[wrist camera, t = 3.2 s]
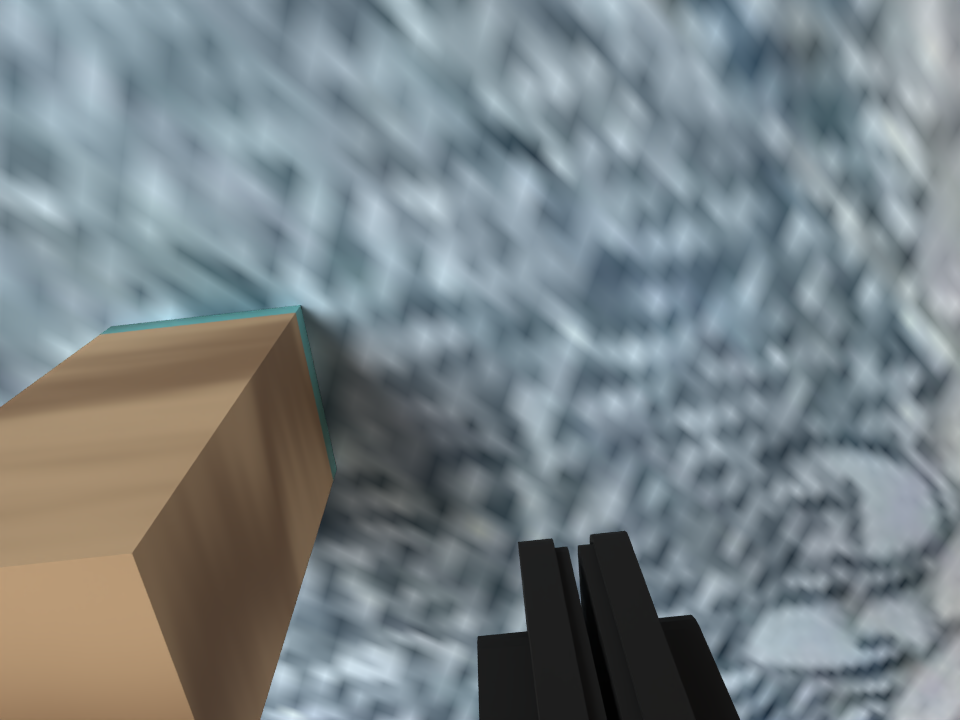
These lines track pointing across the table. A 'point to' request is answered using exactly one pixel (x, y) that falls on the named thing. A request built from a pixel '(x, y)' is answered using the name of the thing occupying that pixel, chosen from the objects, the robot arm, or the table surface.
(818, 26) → the table surface
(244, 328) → the oak block
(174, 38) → the table surface
